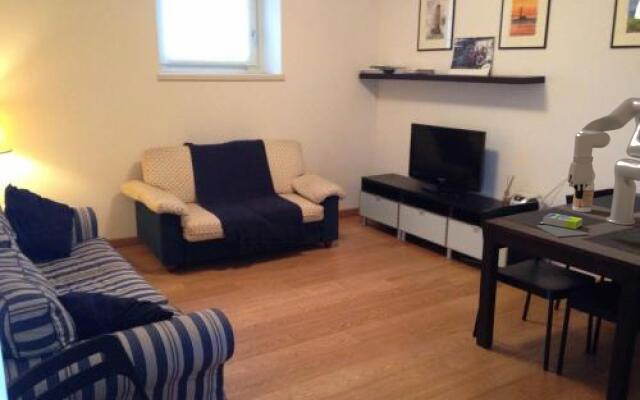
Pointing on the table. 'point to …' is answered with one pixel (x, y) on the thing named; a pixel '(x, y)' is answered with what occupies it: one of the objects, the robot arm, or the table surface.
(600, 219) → the table surface
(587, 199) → the fruit juice
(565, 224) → the box
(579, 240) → the table surface
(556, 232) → the mat
